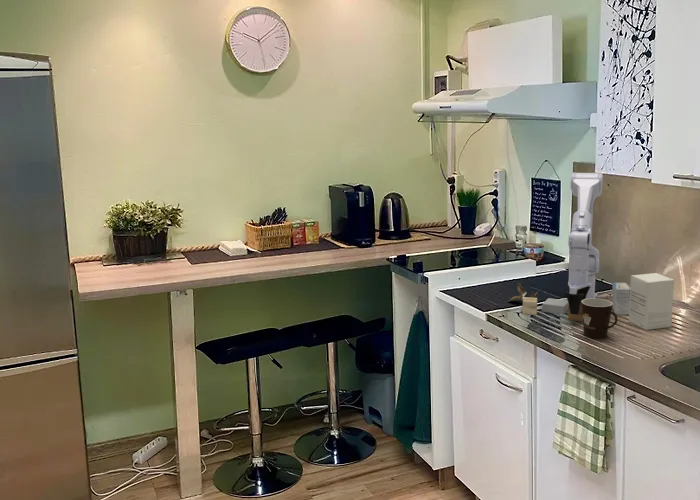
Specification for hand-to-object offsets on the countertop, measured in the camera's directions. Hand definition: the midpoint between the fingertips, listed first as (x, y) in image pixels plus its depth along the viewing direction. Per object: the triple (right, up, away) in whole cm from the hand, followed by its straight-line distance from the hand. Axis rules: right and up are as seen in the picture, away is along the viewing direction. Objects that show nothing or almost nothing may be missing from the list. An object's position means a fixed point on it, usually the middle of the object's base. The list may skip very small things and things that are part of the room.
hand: (577, 310), depth 221 cm
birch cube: (-13, -1, +8) cm, 15 cm away
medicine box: (+16, -1, +6) cm, 17 cm away
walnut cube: (0, -3, +1) cm, 3 cm away
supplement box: (+20, -4, -7) cm, 21 cm away
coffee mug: (+1, -6, -16) cm, 18 cm away
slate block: (-4, -1, +10) cm, 10 cm away
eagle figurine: (-13, +1, +18) cm, 23 cm away
